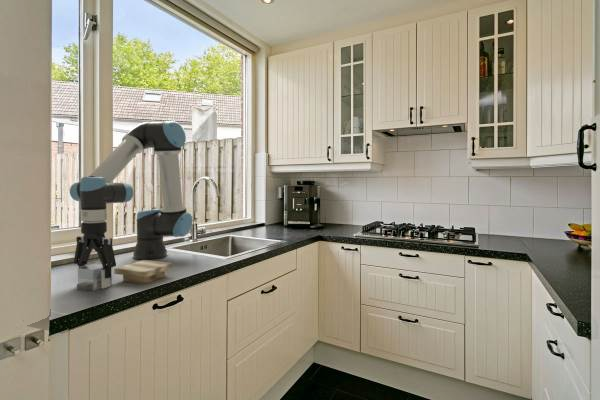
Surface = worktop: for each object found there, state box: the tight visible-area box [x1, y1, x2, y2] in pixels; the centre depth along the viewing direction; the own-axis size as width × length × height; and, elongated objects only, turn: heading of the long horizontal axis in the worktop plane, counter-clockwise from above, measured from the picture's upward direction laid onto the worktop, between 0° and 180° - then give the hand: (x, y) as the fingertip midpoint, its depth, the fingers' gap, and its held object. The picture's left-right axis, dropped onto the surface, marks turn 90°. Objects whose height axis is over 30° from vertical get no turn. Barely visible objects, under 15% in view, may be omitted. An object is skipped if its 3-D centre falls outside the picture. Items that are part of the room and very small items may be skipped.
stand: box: [113, 259, 173, 285], centre depth 123 cm, size 14×14×5 cm
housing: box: [76, 262, 113, 292], centre depth 113 cm, size 9×7×7 cm
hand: (95, 285), depth 114 cm, fingers open, 9 cm apart
